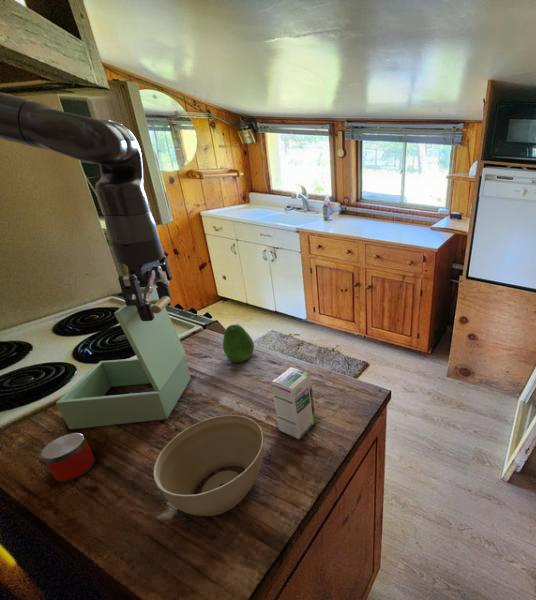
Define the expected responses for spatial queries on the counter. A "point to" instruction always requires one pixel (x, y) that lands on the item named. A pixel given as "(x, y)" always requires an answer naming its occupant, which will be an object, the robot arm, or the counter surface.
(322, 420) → the counter surface
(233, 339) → the avocado
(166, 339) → the lid
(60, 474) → the can
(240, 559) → the counter surface
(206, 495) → the planter bowl
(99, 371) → the chest
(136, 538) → the counter surface
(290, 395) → the syrup box
